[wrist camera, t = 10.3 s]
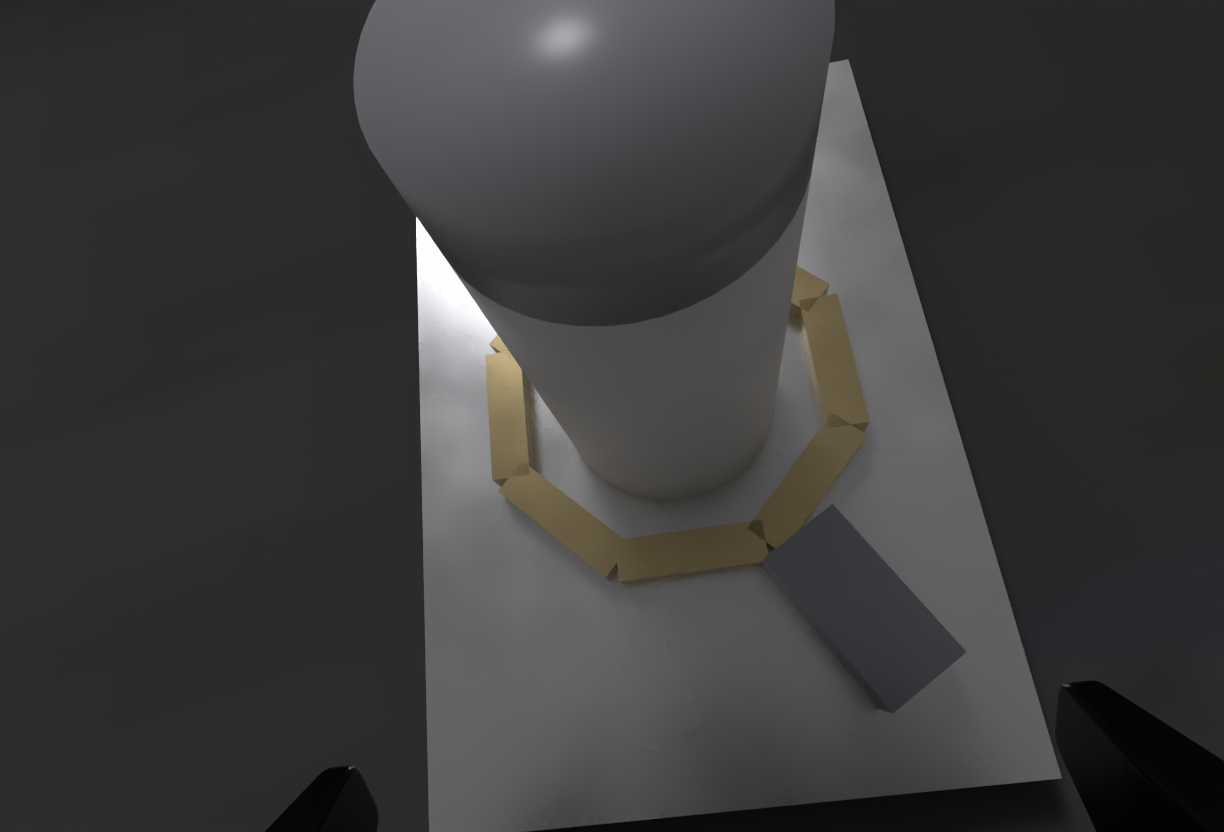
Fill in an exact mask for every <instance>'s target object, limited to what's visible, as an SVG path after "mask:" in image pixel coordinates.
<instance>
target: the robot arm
mask: <svg viewBox="0 0 1224 832" xmlns="http://www.w3.org/2000/svg"><path fill="white" fill-rule="evenodd" d="M1055 737H1056V742H1057V746H1058V749H1059V751H1060V754H1061V756H1062V758H1063V760H1064V762H1065V765H1066V767H1067V769H1068V771H1069V773H1070V775H1071V778H1072V780H1073V782H1074V784H1075V786H1076V788H1077V791H1078V793H1079V795H1080V797H1081V799H1082V801H1083V804H1084V806H1085V808H1086V810H1087V812H1088V814H1089V817H1090V819H1091V821H1092V823H1093V825H1094V827H1095V830H1096V832H1224V761H1223V760H1222V759H1220V758H1219V757H1217V756H1216V755H1214V754H1212V753H1211V752H1209V751H1208V750H1206V749H1205V748H1203V747H1201V746H1200V745H1198V744H1197V743H1195V742H1194V741H1192V740H1191V739H1189V738H1187V737H1186V736H1184V735H1183V734H1181V733H1180V732H1178V731H1176V730H1175V729H1173V728H1172V727H1170V726H1169V725H1167V724H1166V723H1164V722H1162V721H1161V720H1159V719H1158V718H1156V717H1155V716H1153V715H1152V714H1150V713H1148V712H1147V711H1145V710H1144V709H1142V708H1141V707H1139V706H1137V705H1136V704H1134V703H1133V702H1131V701H1130V700H1128V699H1127V698H1125V697H1123V696H1122V695H1120V694H1119V693H1117V692H1116V691H1114V690H1112V689H1111V688H1109V687H1108V686H1106V685H1104V684H1103V683H1100V682H1098V681H1082V682H1073V683H1066V684H1063V685H1062V686H1061V687H1060V688H1059V691H1058V699H1057V711H1056V723H1055ZM377 827H378V809H377V805H376V802H375V800H374V798H373V796H372V794H371V792H370V790H369V788H368V786H367V783H366V781H365V779H364V777H363V775H362V773H361V771H360V770H359V769H358V768H357V767H355V766H342V767H333V768H329V769H326V770H325V771H323V772H322V773H321V774H320V775H319V776H318V777H317V778H316V779H315V780H314V781H313V782H312V783H311V784H310V785H309V786H308V787H307V788H306V789H305V790H304V791H303V792H302V793H301V794H300V795H299V797H298V798H297V799H296V800H295V801H294V802H293V803H292V804H291V805H290V806H289V807H288V808H287V809H286V810H285V811H284V812H283V813H282V814H281V815H280V816H279V817H278V819H277V820H276V821H275V822H274V823H273V824H272V825H271V826H270V827H269V828H268V829H267V830H266V831H265V832H377Z"/></svg>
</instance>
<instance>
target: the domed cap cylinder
mask: <svg viewBox="0 0 1224 832" xmlns="http://www.w3.org/2000/svg"><path fill="white" fill-rule="evenodd" d="M834 29H835V7H834V0H376V1H375V3H374V5H373V7H372V9H371V10H370V13H369V15H368V18H367V20H366V23H365V25H364V28H363V30H362V33H361V37H360V41H359V45H358V49H357V53H356V58H355V68H354V79H353V82H354V97H355V106H356V110H357V114H358V119H359V123H360V127H361V129H362V131H363V134H364V136H365V138H366V141H367V143H368V145H369V148H370V149H371V151H372V152H373V154H374V156H375V157H376V159H377V160H378V162H379V163H380V165H381V166H382V168H383V169H384V171H385V172H386V174H387V175H388V177H389V178H390V179H391V181H392V182H393V184H394V185H395V187H396V188H397V190H398V191H399V192H400V194H401V195H402V197H403V198H404V200H405V201H406V203H407V204H408V205H409V207H410V208H411V210H412V211H413V213H414V214H415V216H416V217H417V219H418V220H419V221H420V223H421V224H422V226H423V227H424V229H425V230H426V232H427V233H428V234H429V236H430V237H431V239H432V240H433V242H434V243H435V245H436V246H437V247H438V249H439V250H440V252H441V253H442V255H443V256H444V258H445V259H446V261H447V262H448V263H449V265H450V266H451V268H452V269H453V271H454V272H455V274H456V275H457V276H458V278H459V279H460V281H461V282H462V284H463V285H464V287H465V288H466V289H467V291H468V292H469V294H470V295H471V297H472V298H473V300H474V301H475V303H476V304H477V305H478V307H479V308H480V310H481V311H482V313H483V314H484V316H485V317H486V318H487V320H488V321H489V323H490V324H491V326H492V327H493V329H494V330H495V331H496V333H497V334H498V336H499V337H500V339H501V340H502V342H503V343H504V344H505V346H506V347H507V349H508V350H509V352H510V353H511V355H512V356H513V358H514V359H515V360H516V362H517V363H518V365H519V366H520V368H521V369H522V371H523V372H524V373H525V375H526V376H527V378H528V379H529V381H530V382H531V384H532V385H533V386H534V388H535V389H536V391H537V392H538V394H539V395H540V397H541V398H542V400H543V401H544V402H545V404H546V405H547V407H548V408H549V410H550V411H551V413H552V414H553V415H554V417H555V418H556V420H557V421H558V423H559V424H560V426H561V427H562V428H563V430H564V431H565V433H566V434H567V436H568V437H569V439H570V440H571V442H572V443H573V444H574V446H575V447H576V449H577V450H578V452H579V453H580V455H581V456H582V457H583V459H584V460H585V462H586V463H587V464H588V465H589V466H590V467H591V468H592V470H593V471H594V472H596V473H597V474H598V475H599V476H600V477H601V478H603V479H604V480H605V481H607V482H608V483H610V484H611V485H613V486H614V487H616V488H619V489H621V490H623V491H625V492H627V493H630V494H633V495H636V496H639V497H644V498H649V499H656V500H676V499H685V498H690V497H695V496H698V495H701V494H704V493H707V492H710V491H712V490H714V489H716V488H718V487H720V486H722V485H724V484H725V483H727V482H728V481H730V480H731V479H733V478H734V477H736V476H737V475H738V474H739V473H740V472H741V471H742V470H743V469H745V468H746V467H747V465H748V464H749V463H750V462H751V461H752V460H753V458H754V457H755V456H756V454H757V453H758V451H759V450H760V448H761V447H762V445H763V443H764V441H765V438H766V436H767V434H768V432H769V428H770V425H771V422H772V417H773V411H774V404H775V398H776V392H777V386H778V379H779V373H780V367H781V361H782V354H783V348H784V342H785V336H786V329H787V323H788V317H789V311H790V304H791V298H792V292H793V286H794V279H795V273H796V267H797V261H798V254H799V248H800V242H801V236H802V229H803V223H804V217H805V211H806V204H807V198H808V192H809V186H810V179H811V173H812V167H813V161H814V155H815V148H816V142H817V136H818V130H819V123H820V117H821V111H822V105H823V98H824V92H825V86H826V80H827V73H828V67H829V61H830V55H831V48H832V42H833V35H834Z"/></svg>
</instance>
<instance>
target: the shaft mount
mask: <svg viewBox="0 0 1224 832" xmlns="http://www.w3.org/2000/svg"><path fill="white" fill-rule="evenodd" d="M416 229H417V276H418V324H419V371H420V418H421V465H422V512H423V559H424V607H425V654H426V701H427V748H428V795H429V832H527V831H537V830H548V829H558V828H568V827H578V826H588V825H598V824H608V823H618V822H628V821H638V820H648V819H658V818H668V817H678V816H688V815H698V814H708V813H719V812H729V811H739V810H749V809H759V808H769V807H779V806H789V805H799V804H809V803H819V802H829V801H839V800H849V799H859V798H869V797H879V796H889V795H900V794H910V793H920V792H930V791H940V790H950V789H960V788H970V787H980V786H990V785H1000V784H1010V783H1020V782H1030V781H1040V780H1050V779H1060V778H1062V777H1061V774H1060V770H1059V767H1058V763H1057V760H1056V757H1055V753H1054V750H1053V747H1052V743H1051V740H1050V737H1049V733H1048V730H1047V726H1046V723H1045V720H1044V716H1043V713H1042V710H1041V706H1040V703H1039V700H1038V696H1037V693H1036V689H1035V686H1034V683H1033V679H1032V676H1031V673H1030V669H1029V666H1028V663H1027V659H1026V656H1025V652H1024V649H1023V646H1022V642H1021V639H1020V636H1019V632H1018V629H1017V626H1016V622H1015V619H1014V615H1013V612H1012V609H1011V605H1010V602H1009V599H1008V595H1007V592H1006V589H1005V585H1004V582H1003V578H1002V575H1001V572H1000V568H999V565H998V562H997V558H996V555H995V551H994V548H993V545H992V541H991V538H990V535H989V531H988V528H987V525H986V521H985V518H984V514H983V511H982V508H981V504H980V501H979V498H978V494H977V491H976V488H975V484H974V481H973V477H972V474H971V471H970V467H969V464H968V461H967V457H966V454H965V451H964V447H963V444H962V440H961V437H960V434H959V430H958V427H957V424H956V420H955V417H954V414H953V410H952V407H951V403H950V400H949V397H948V393H947V390H946V387H945V383H944V380H943V377H942V373H941V370H940V366H939V363H938V360H937V356H936V353H935V350H934V346H933V343H932V340H931V336H930V333H929V329H928V326H927V323H926V319H925V316H924V313H923V309H922V306H921V303H920V299H919V296H918V292H917V289H916V286H915V282H914V279H913V276H912V272H911V269H910V266H909V262H908V259H907V255H906V252H905V249H904V245H903V242H902V239H901V235H900V232H899V229H898V225H897V222H896V218H895V215H894V212H893V208H892V205H891V202H890V198H889V195H888V192H887V188H886V185H885V181H884V178H883V175H882V171H881V168H880V165H879V161H878V158H877V154H876V151H875V148H874V144H873V141H872V138H871V134H870V131H869V128H868V124H867V121H866V117H865V114H864V111H863V107H862V104H861V101H860V97H859V94H858V91H857V87H856V84H855V80H854V77H853V74H852V70H851V67H850V64H849V60H843V61H838V62H833V63H829V67H828V73H827V80H826V86H825V92H824V98H823V105H822V111H821V117H820V123H819V130H818V136H817V142H816V148H815V155H814V161H813V167H812V173H811V179H810V186H809V192H808V198H807V204H806V211H805V217H804V223H803V229H802V236H801V242H800V248H799V254H798V261H797V267H796V273H795V279H794V286H793V292H792V298H791V304H790V311H789V317H788V323H787V329H786V336H785V342H784V348H783V354H782V361H781V367H780V373H779V379H778V386H777V392H776V398H775V404H774V411H773V417H772V422H771V425H770V428H769V432H768V434H767V436H766V438H765V441H764V443H763V445H762V447H761V448H760V450H759V451H758V453H757V454H756V456H755V457H754V458H753V460H752V461H751V462H750V463H749V464H748V465H747V467H746V468H745V469H743V470H742V471H741V472H740V473H739V474H738V475H737V476H736V477H734V478H733V479H731V480H730V481H728V482H727V483H725V484H724V485H722V486H720V487H718V488H716V489H714V490H712V491H710V492H707V493H704V494H701V495H698V496H695V497H690V498H685V499H676V500H656V499H649V498H644V497H639V496H636V495H633V494H630V493H627V492H625V491H623V490H621V489H619V488H616V487H614V486H613V485H611V484H610V483H608V482H607V481H605V480H604V479H603V478H601V477H600V476H599V475H598V474H597V473H596V472H594V471H593V470H592V468H591V467H590V466H589V465H588V464H587V463H586V462H585V460H584V459H583V457H582V456H581V455H580V453H579V452H578V450H577V449H576V447H575V446H574V444H573V443H572V442H571V440H570V439H569V437H568V436H567V434H566V433H565V431H564V430H563V428H562V427H561V426H560V424H559V423H558V421H557V420H556V418H555V417H554V415H553V414H552V413H551V411H550V410H549V408H548V407H547V405H546V404H545V402H544V401H543V400H542V398H541V397H540V395H539V394H538V392H537V391H536V389H535V388H534V386H533V385H532V384H531V382H530V381H529V379H528V378H527V376H526V375H525V373H524V372H523V371H522V369H521V368H520V366H519V365H518V363H517V362H516V360H515V359H514V358H513V356H512V355H511V353H510V352H509V350H508V349H507V347H506V346H505V344H504V343H503V342H502V340H501V339H500V337H499V336H498V334H497V333H496V331H495V330H494V329H493V327H492V326H491V324H490V323H489V321H488V320H487V318H486V317H485V316H484V314H483V313H482V311H481V310H480V308H479V307H478V305H477V304H476V303H475V301H474V300H473V298H472V297H471V295H470V294H469V292H468V291H467V289H466V288H465V287H464V285H463V284H462V282H461V281H460V279H459V278H458V276H457V275H456V274H455V272H454V271H453V269H452V268H451V266H450V265H449V263H448V262H447V261H446V259H445V258H444V256H443V255H442V253H441V252H440V250H439V249H438V247H437V246H436V245H435V243H434V242H433V240H432V239H431V237H430V236H429V234H428V233H427V232H426V230H425V229H424V227H423V226H422V224H421V223H420V221H419V220H418V219H417V217H416Z"/></svg>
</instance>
